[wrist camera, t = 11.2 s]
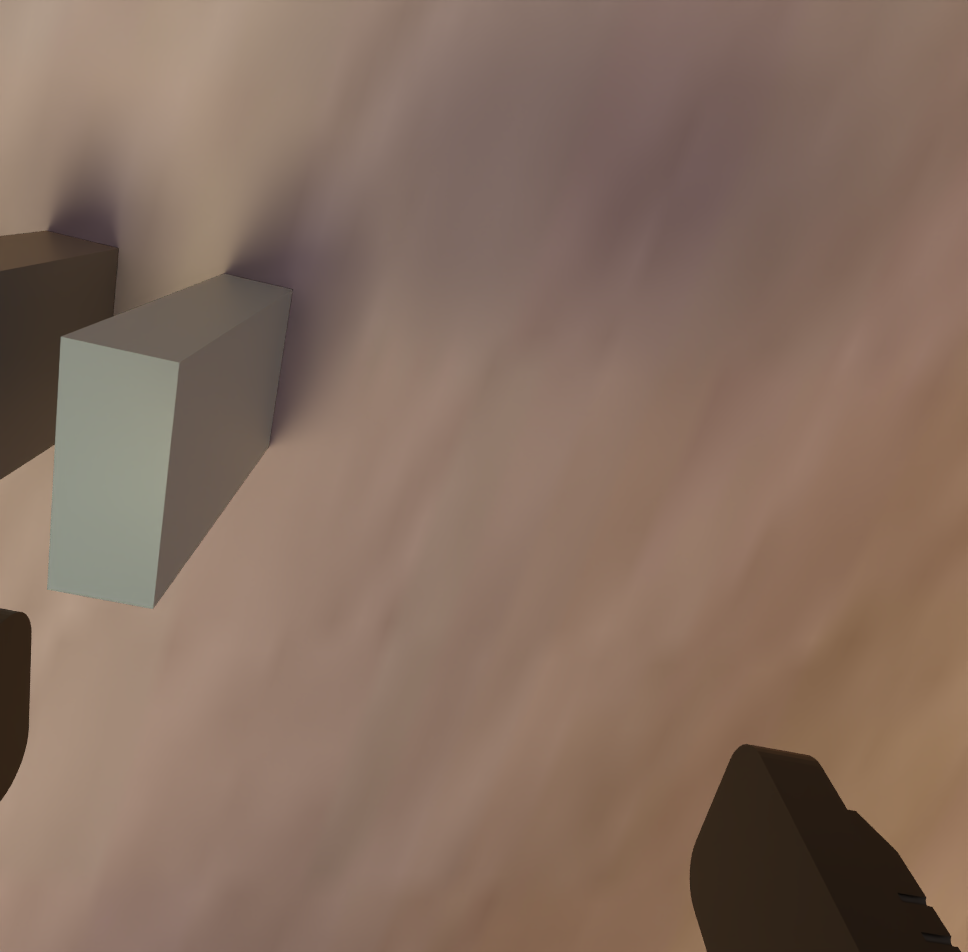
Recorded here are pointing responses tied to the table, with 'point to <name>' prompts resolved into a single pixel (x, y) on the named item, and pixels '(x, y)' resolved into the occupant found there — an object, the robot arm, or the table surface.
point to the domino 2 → (159, 432)
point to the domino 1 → (43, 329)
